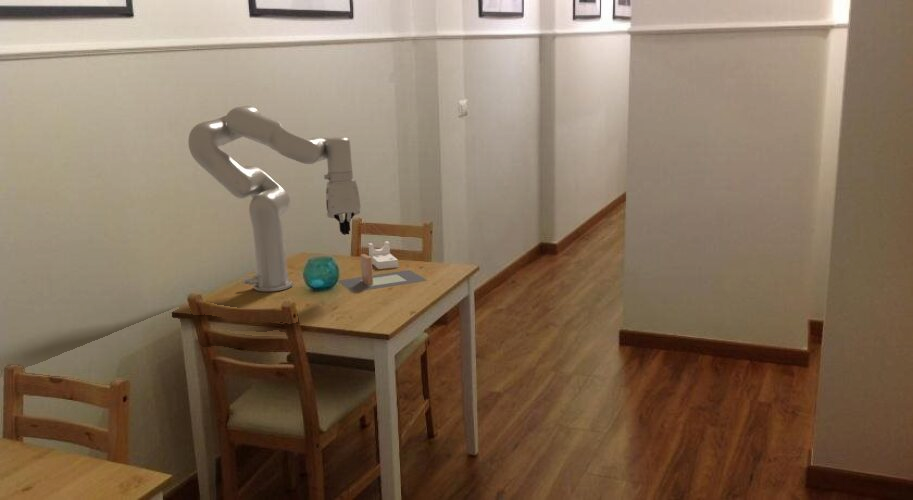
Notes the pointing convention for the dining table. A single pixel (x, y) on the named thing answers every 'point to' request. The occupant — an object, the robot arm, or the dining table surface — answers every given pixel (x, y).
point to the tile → (367, 269)
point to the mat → (382, 280)
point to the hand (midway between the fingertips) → (345, 233)
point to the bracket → (382, 257)
